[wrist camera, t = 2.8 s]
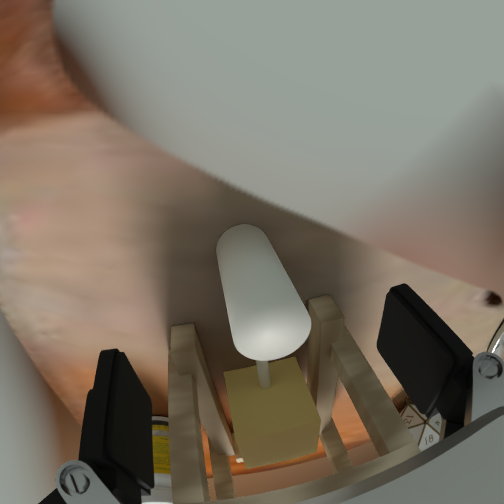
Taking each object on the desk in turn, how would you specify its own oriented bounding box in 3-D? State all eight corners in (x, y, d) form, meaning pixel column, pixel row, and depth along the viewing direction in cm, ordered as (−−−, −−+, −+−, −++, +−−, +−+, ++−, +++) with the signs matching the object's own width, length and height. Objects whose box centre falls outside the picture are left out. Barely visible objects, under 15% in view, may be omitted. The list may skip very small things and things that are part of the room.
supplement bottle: (139, 409, 22) (137, 497, 15) (191, 419, 24) (200, 503, 17) (131, 433, 24) (129, 509, 17) (177, 441, 26) (183, 515, 18)
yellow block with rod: (288, 216, 17) (343, 285, 11) (296, 396, 25) (320, 462, 19) (188, 233, 16) (190, 317, 10) (234, 409, 24) (248, 479, 18)
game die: (399, 378, 34) (467, 390, 26) (400, 422, 36) (460, 436, 27) (360, 422, 29) (437, 445, 21) (365, 464, 30) (430, 487, 22)
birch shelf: (339, 292, 20) (437, 437, 10) (326, 415, 28) (368, 512, 17) (160, 328, 19) (159, 512, 8) (210, 441, 26) (228, 547, 16)
